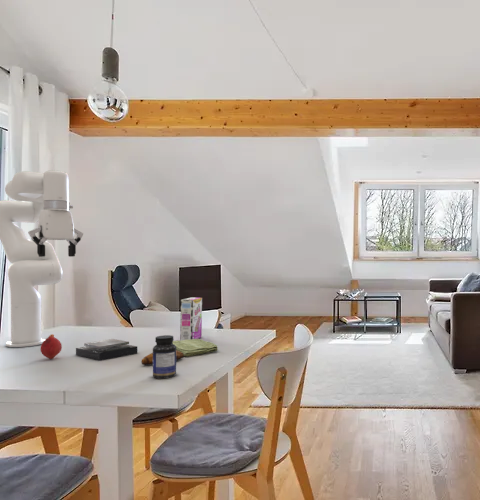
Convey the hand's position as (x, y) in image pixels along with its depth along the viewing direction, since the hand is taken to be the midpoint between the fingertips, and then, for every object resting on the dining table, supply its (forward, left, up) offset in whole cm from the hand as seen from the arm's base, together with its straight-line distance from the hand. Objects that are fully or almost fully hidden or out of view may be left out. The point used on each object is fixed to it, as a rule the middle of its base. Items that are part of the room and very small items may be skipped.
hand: (57, 256), depth 164 cm
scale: (+16, +8, -33) cm, 38 cm away
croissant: (+43, +11, -33) cm, 56 cm away
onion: (+8, -6, -33) cm, 35 cm away
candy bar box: (+18, +41, -34) cm, 56 cm away
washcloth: (+36, +27, -33) cm, 56 cm away
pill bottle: (+58, +1, -33) cm, 67 cm away
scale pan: (+16, +8, -30) cm, 35 cm away
